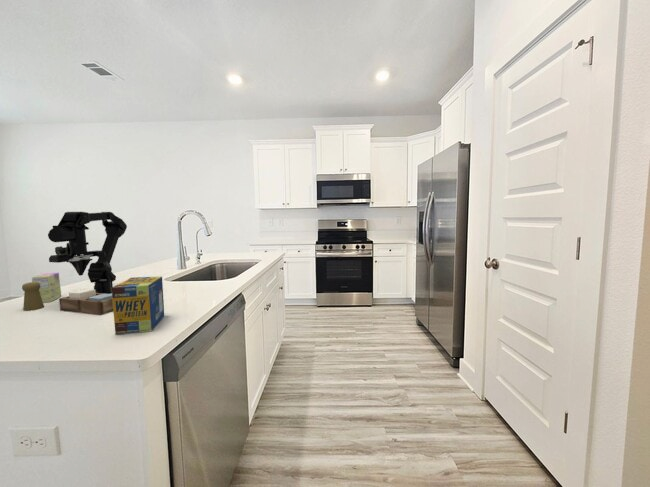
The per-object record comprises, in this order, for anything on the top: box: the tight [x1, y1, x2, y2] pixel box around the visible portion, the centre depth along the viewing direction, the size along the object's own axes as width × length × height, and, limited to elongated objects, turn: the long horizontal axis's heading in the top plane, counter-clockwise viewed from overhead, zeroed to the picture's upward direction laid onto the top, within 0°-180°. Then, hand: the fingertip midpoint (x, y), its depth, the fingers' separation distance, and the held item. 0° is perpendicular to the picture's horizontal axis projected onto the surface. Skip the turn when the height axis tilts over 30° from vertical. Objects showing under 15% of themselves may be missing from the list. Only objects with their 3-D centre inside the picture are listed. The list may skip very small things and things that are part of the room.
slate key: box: [89, 293, 112, 301], centre depth 111 cm, size 6×6×4 cm
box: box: [31, 272, 62, 304], centre depth 126 cm, size 10×6×12 cm, turn 25°
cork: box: [21, 281, 45, 312], centre depth 114 cm, size 6×6×11 cm
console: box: [58, 293, 113, 316], centre depth 113 cm, size 10×22×5 cm, turn 74°
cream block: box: [68, 288, 96, 299], centre depth 114 cm, size 6×6×4 cm
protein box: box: [111, 276, 165, 335], centre depth 95 cm, size 10×15×16 cm
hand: (80, 275), depth 122 cm, fingers closed
